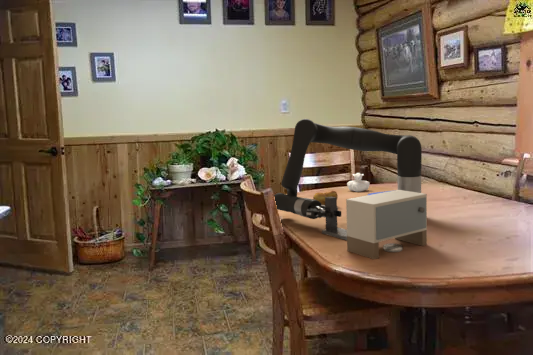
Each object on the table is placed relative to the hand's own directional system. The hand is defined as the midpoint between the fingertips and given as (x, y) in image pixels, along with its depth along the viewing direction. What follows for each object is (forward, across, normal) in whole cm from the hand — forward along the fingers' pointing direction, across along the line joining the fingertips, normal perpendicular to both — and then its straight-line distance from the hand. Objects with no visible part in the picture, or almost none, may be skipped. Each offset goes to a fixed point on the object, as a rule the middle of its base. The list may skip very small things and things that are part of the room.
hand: (336, 214), depth 185 cm
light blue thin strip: (-35, +66, +8) cm, 75 cm away
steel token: (+27, 0, +8) cm, 28 cm away
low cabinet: (+25, 0, +7) cm, 26 cm away
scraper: (+5, 0, +7) cm, 9 cm away
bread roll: (-42, +28, +7) cm, 51 cm away
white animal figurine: (-60, +67, +7) cm, 91 cm away
